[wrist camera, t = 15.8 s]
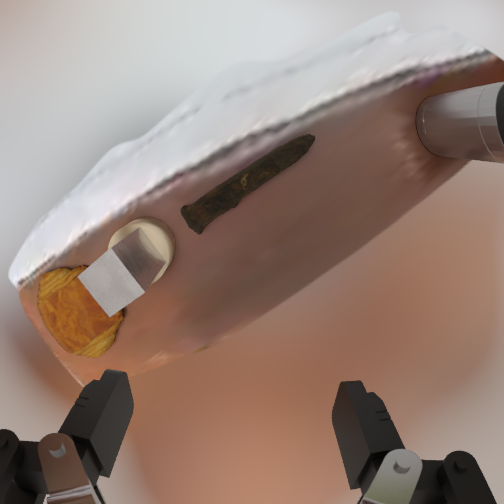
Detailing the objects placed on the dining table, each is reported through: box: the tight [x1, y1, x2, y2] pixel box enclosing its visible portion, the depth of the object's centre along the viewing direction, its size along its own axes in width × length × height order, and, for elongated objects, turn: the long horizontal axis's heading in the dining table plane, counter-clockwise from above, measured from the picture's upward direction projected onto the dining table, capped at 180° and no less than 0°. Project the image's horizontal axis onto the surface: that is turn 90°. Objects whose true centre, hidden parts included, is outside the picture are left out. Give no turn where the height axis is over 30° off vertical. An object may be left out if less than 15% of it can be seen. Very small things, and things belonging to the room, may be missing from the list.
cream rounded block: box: [108, 217, 175, 284], centre depth 39 cm, size 8×8×8 cm
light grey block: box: [78, 227, 166, 317], centre depth 33 cm, size 5×5×9 cm
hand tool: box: [181, 134, 315, 234], centre depth 38 cm, size 19×4×5 cm, turn 122°
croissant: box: [37, 265, 124, 358], centre depth 42 cm, size 14×16×8 cm
